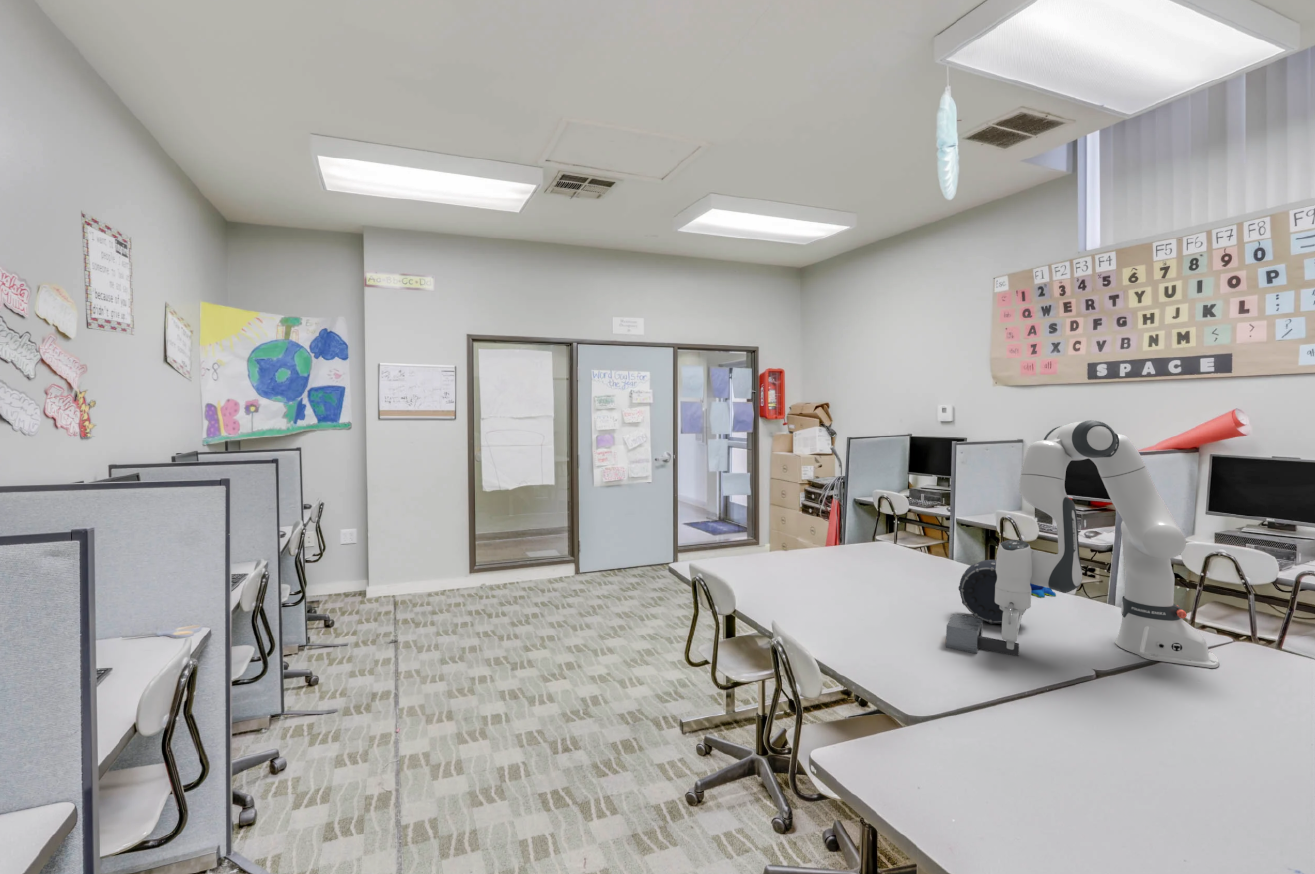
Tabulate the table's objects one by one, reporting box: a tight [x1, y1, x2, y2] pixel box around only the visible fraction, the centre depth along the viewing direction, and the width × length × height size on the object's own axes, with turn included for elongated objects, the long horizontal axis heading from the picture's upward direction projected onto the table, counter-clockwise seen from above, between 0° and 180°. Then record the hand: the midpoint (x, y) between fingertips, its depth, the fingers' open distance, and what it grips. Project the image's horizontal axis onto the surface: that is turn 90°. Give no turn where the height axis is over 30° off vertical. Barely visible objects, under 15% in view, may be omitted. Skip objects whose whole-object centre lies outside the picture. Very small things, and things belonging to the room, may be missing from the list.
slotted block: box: [945, 613, 984, 654], centre depth 178 cm, size 8×12×6 cm, turn 146°
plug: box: [978, 635, 1020, 657], centre depth 175 cm, size 18×4×3 cm, turn 56°
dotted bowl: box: [958, 559, 1027, 625], centre depth 196 cm, size 11×20×20 cm, turn 53°
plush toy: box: [1030, 583, 1057, 599], centre depth 230 cm, size 17×17×8 cm
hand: (1010, 646), depth 171 cm, fingers closed on plug, 2 cm apart
